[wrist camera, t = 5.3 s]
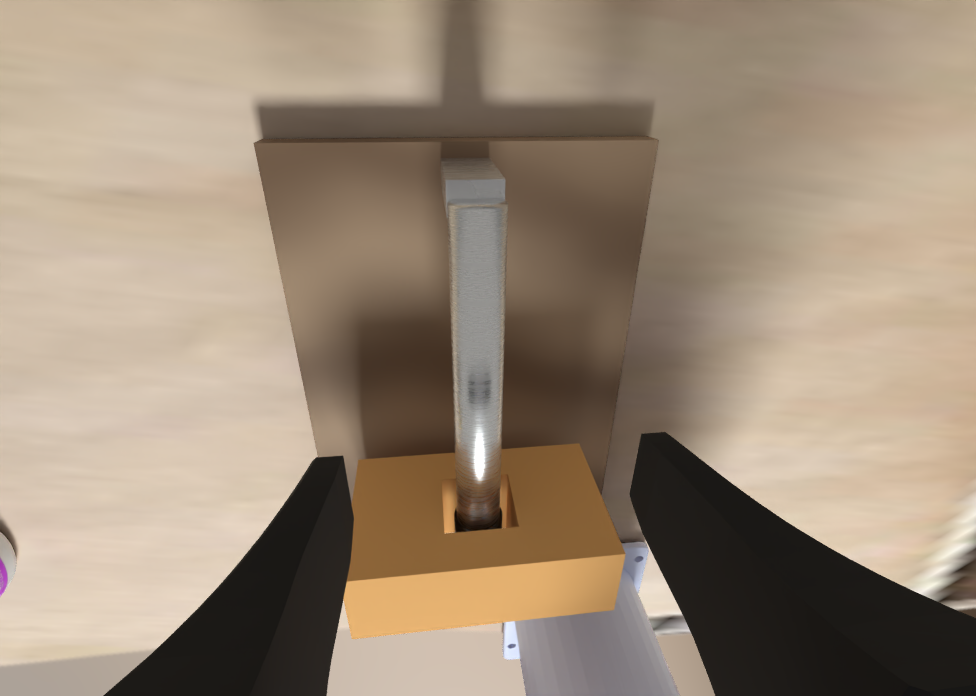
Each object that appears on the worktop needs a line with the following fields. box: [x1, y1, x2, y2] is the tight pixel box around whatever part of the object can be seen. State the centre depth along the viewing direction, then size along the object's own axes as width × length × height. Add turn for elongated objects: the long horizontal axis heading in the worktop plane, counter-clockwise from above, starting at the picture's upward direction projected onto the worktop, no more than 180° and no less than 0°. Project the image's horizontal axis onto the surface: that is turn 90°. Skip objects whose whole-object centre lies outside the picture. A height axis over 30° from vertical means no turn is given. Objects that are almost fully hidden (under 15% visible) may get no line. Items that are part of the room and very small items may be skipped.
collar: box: [343, 443, 626, 639], centre depth 19 cm, size 3×9×6 cm, turn 89°
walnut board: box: [254, 136, 659, 503], centre depth 21 cm, size 18×13×1 cm
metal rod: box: [441, 158, 508, 533], centre depth 19 cm, size 17×2×5 cm, turn 0°
